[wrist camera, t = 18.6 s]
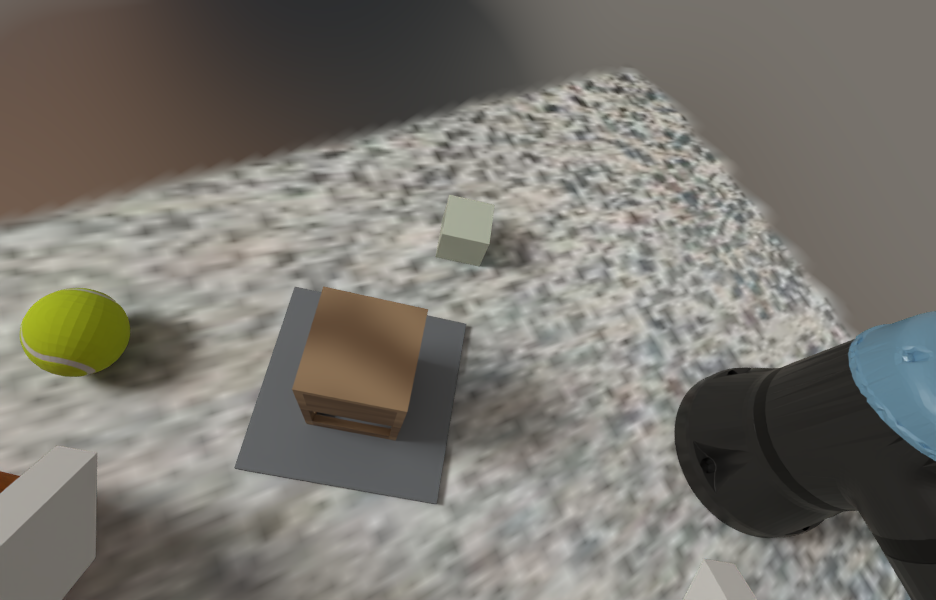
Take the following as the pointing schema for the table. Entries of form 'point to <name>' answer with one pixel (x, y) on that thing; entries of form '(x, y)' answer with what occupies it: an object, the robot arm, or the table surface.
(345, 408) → the wooden nightstand
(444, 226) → the block
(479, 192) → the table surface
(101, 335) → the tennis ball
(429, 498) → the mat
